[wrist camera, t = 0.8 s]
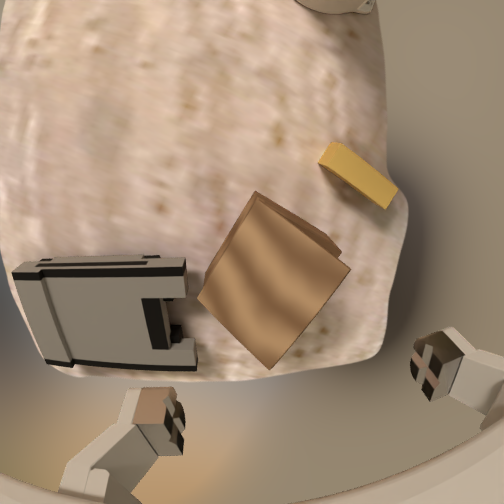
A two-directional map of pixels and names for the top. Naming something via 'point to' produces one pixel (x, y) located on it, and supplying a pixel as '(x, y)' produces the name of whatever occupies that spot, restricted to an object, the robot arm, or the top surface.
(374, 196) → the yellow block
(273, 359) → the box lid
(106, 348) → the game console
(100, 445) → the robot arm
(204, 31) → the top surface
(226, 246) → the wooden box
